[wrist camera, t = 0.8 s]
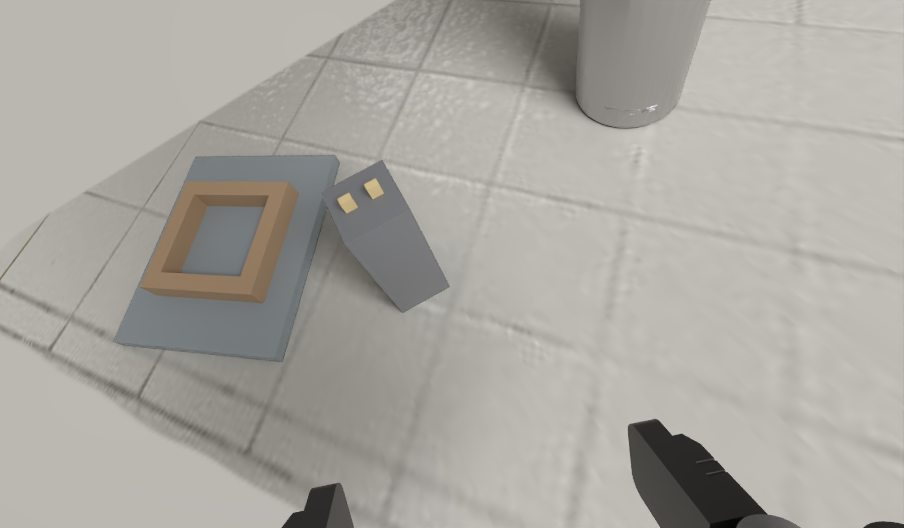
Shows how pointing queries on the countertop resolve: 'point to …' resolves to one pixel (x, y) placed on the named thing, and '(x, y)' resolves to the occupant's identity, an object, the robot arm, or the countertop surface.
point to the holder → (232, 257)
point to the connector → (385, 236)
